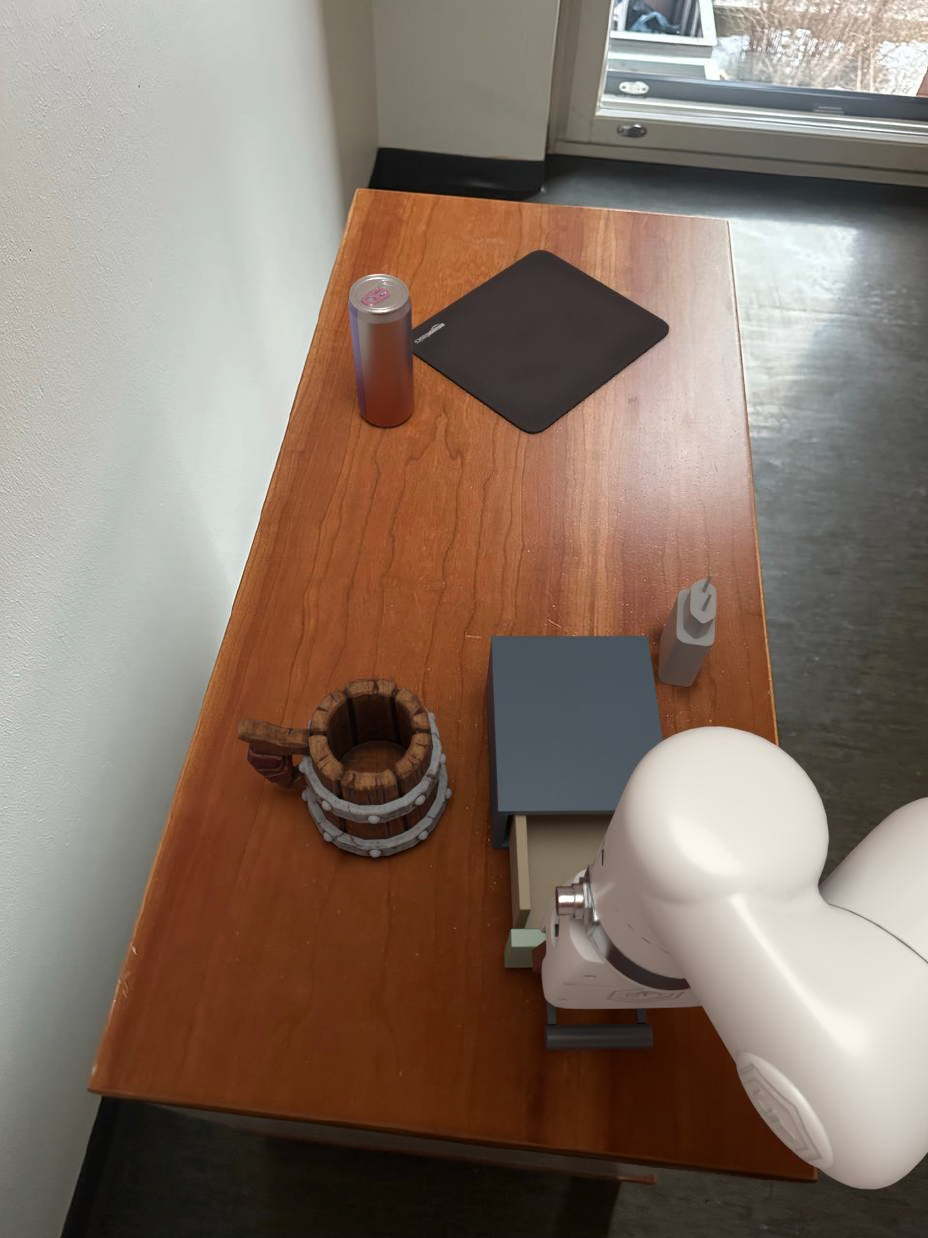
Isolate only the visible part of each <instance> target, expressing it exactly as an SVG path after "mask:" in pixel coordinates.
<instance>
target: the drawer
mask: <svg viewBox="0 0 928 1238" xmlns="http://www.w3.org/2000/svg"><path fill="white" fill-rule="evenodd" d="M613 815H614V814H563V815H508V830H509V849H508V850H509V851H508V852H509V870H510V871H509V872H510V874H509V875H510V895H511V915H512V917H511V918H512V919H511V920H512V928H511V929H510V931H509V934H508V937H507V941H506V944H505V947H504V951H503V954H504V955H503V957H504V968H505V969H511V968H512V969H513V968H516V969H517V968H518V969H520V968H521V969H522V968H523V969H524V968H533V964H532V950H533V949H534V948H535V947H537V946H538V945H539V944H541V943H542V942H543V941H545V940H546V934H545V933H541V931H540V922H541V919H542V916H543V913H544V911H545V909H546V907H547V906H548V904H549V902H550V901H551V899H552V898H553V896H554V895H555V890H556V886H563V885H564V884H565V883H566V882H567V881H569V880H570V879H571V878H572V877H574V876H575V875H576V874H577V873H579V872H580V871H582V870H585V869H587V867H588V865H592V864H593V862H594V860H595V857H596V855H597V853H598V850H599V848H600V846H601V843H602V841H603V839H604V836H605V834H606V832H607V829H608V827H609V825H610V822H611V820H612V818H613ZM545 1008H546V1009H545V1011H546V1024H545V1025H544V1029H543V1036H544V1038H543V1039H544V1047H545V1050H546V1051H568V1050H569V1051H575V1050H577V1051H578V1050H579V1051H580V1050H581V1051H583V1050H586V1051H587V1050H640V1049H642V1050H643V1049H645V1050H647V1049H648V1050H649V1049H650V1050H651V1049H653V1047H654V1033H653V1032H654V1031H653V1028H652V1025H651V1024H650V1023H648V1017H647V1011H646V1009H647V1008H634V1013H635V1020H636V1023H593V1024H592V1023H590V1024H585V1023H584V1024H558V1018H557V1017H558V1016H557V1007H555V1006H554V1005H552V1004H550V1003H549V1002H548V1001H547V1000H546V999H545Z"/></svg>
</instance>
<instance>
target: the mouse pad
mask: <svg viewBox="0 0 928 1238" xmlns="http://www.w3.org/2000/svg"><path fill="white" fill-rule="evenodd" d="M669 331H670V326H669V323H667V322H666V321H665V320H664V319H662V318H661V317H659V316H658V315H656V314H655V313H653V312H651V311H649V310H647V309H646V308H645V307H642V306H641V305H639V304H637V303H636V302H635V301H633V300H631V299H629V298H628V297H626V296H624V295H623V294H621V293H619V292H618V291H616V290H614V289H613V288H611V287H609V286H608V285H606V284H605V283H603V282H601V281H599V280H598V279H596V278H594V277H592V276H591V275H589V274H588V273H586V272H584V271H583V270H581V269H579V268H578V267H576V266H575V265H572V264H571V263H569V262H568V261H566V260H564V259H563V258H562V257H559V256H557V254H555V253H552V252H551V251H548V250H545V249H537V250H533V251H531V252H529V253H528V254H526V255H525V256H523V257H521V258H520V259H518V260H516V261H515V262H514V263H512V264H511V265H509V266H507V267H506V268H504V269H503V270H501V271H499V273H497V274H495V275H493V276H492V277H491V278H489V279H487V280H486V281H484V282H482V283H481V284H480V285H478V286H476V287H475V288H473V289H472V290H470V291H469V292H467V293H466V294H464V295H463V296H461V297H460V298H458V299H457V300H455V301H453V302H452V303H450V304H449V305H448V306H446V307H444V308H443V309H441V310H440V311H438V312H437V313H435V314H433V315H432V316H430V317H428V318H427V319H426V320H424V321H423V322H421V323H420V324H418V325H417V326H415V327H413V328H412V344H413V355H415V356H417V357H418V358H419V359H421V360H422V361H424V362H425V363H426V364H428V365H429V366H430V367H432V368H434V369H435V370H437V371H438V372H439V373H441V374H442V375H443V376H445V377H446V378H448V379H449V380H451V381H452V382H453V383H455V384H456V385H457V386H459V387H460V388H461V389H463V390H465V391H466V392H467V393H469V394H470V395H472V396H473V397H475V398H476V399H477V400H478V401H480V402H481V403H483V404H484V405H486V406H487V407H488V408H490V409H492V410H493V411H494V412H496V413H497V414H499V415H500V416H502V417H503V418H504V419H505V420H507V421H509V422H510V423H511V424H513V425H514V426H516V428H518V429H520V430H521V431H524V432H526V433H530V434H536V433H540V432H542V431H544V430H545V429H547V428H549V427H550V426H551V425H552V424H554V423H555V422H556V421H558V420H559V419H560V418H561V417H563V416H564V415H566V414H568V412H570V411H571V410H572V409H573V408H574V407H576V406H577V405H579V404H580V403H581V402H582V401H583V400H585V399H587V397H589V396H590V395H591V394H593V393H594V392H595V391H596V390H598V389H599V388H600V387H602V386H603V385H605V384H606V383H607V382H609V380H611V379H612V378H613V377H615V376H616V375H617V374H619V373H620V372H621V371H622V370H624V369H625V368H626V367H627V366H629V365H631V364H632V363H633V362H634V361H636V360H637V359H638V358H639V357H640V356H642V355H644V354H645V353H646V352H647V351H648V350H650V349H651V348H652V347H654V345H656V344H657V343H658V342H660V341H661V340H662V339H663V338H665V337H666V336H667V335H668V333H669Z"/></svg>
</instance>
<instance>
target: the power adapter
mask: <svg viewBox="0 0 928 1238" xmlns="http://www.w3.org/2000/svg"><path fill="white" fill-rule="evenodd" d="M712 578H713V573H709V575H708V577H707V579H705V578H701V579H699V580H697V581H696V582H694V583H692V585H691V586H690V588H683V589H680V590H679V591H678V593H677V596H676V598H675V600H674V604H673V606H672V609H671V610H670V612H669V613H670V614H669V615H668V618H667V620H666V623H665V626H664V628H663V631H662V633H661V635H660V639H659V653H658V654H659V656H658V673H657V675H658V680H659V681H660V682H661V683H662V684H665V685H669V686H676V687H683V688H688V687H689V688H690V687H691V686H692V685H693V684H694V681H695V679H696V678H697V675H698V674H699V672H700V671H701V669H702V666H703V664H704V662H705V660H706V658H707V656H708V654H709V652H710V651H711V648H712V646H713V644H714V642H715V636H716V635H715V634H716V633H715V632H716V629H715V628H716V625H715V624H716V616H717V590H716V587H715V586H714V585H713V584H712V583H711V580H712Z"/></svg>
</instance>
